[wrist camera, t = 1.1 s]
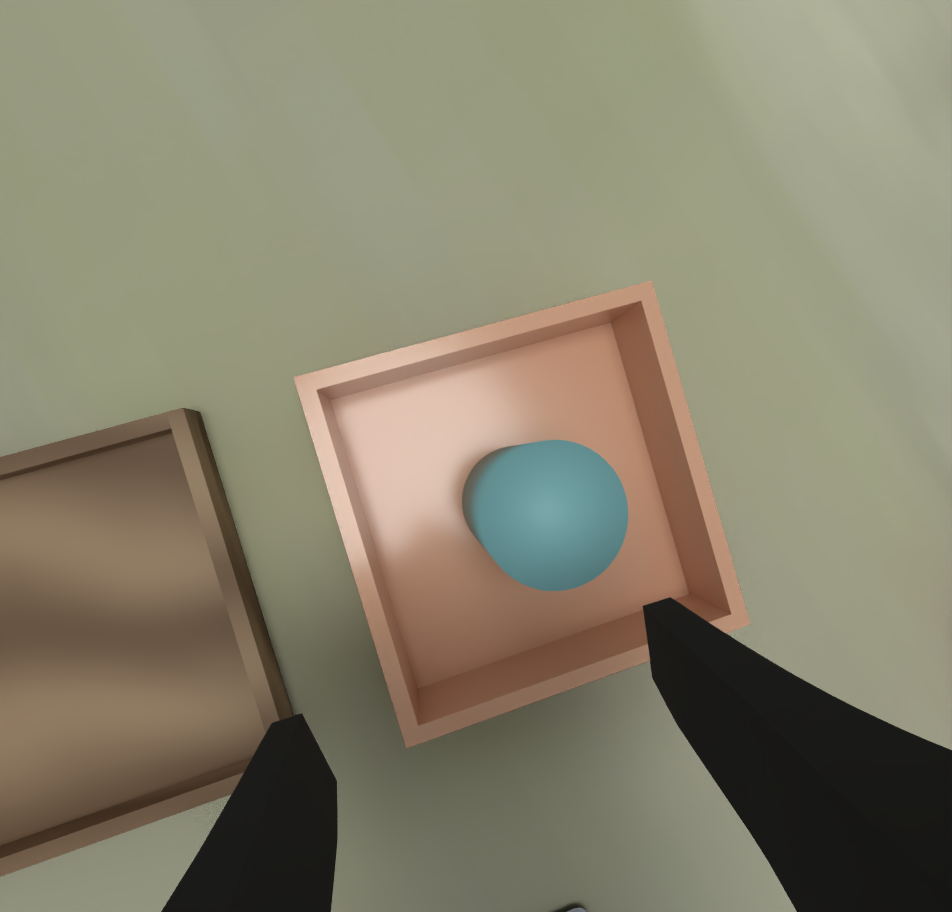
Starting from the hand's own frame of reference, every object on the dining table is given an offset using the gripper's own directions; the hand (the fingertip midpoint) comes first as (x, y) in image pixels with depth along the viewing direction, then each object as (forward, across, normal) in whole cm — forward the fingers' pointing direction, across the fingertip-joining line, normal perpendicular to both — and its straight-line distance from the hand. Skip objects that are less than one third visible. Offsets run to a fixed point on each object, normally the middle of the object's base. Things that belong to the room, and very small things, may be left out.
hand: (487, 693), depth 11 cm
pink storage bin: (+11, -3, +2) cm, 12 cm away
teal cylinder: (+11, -3, +2) cm, 11 cm away
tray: (+10, +15, +2) cm, 18 cm away
